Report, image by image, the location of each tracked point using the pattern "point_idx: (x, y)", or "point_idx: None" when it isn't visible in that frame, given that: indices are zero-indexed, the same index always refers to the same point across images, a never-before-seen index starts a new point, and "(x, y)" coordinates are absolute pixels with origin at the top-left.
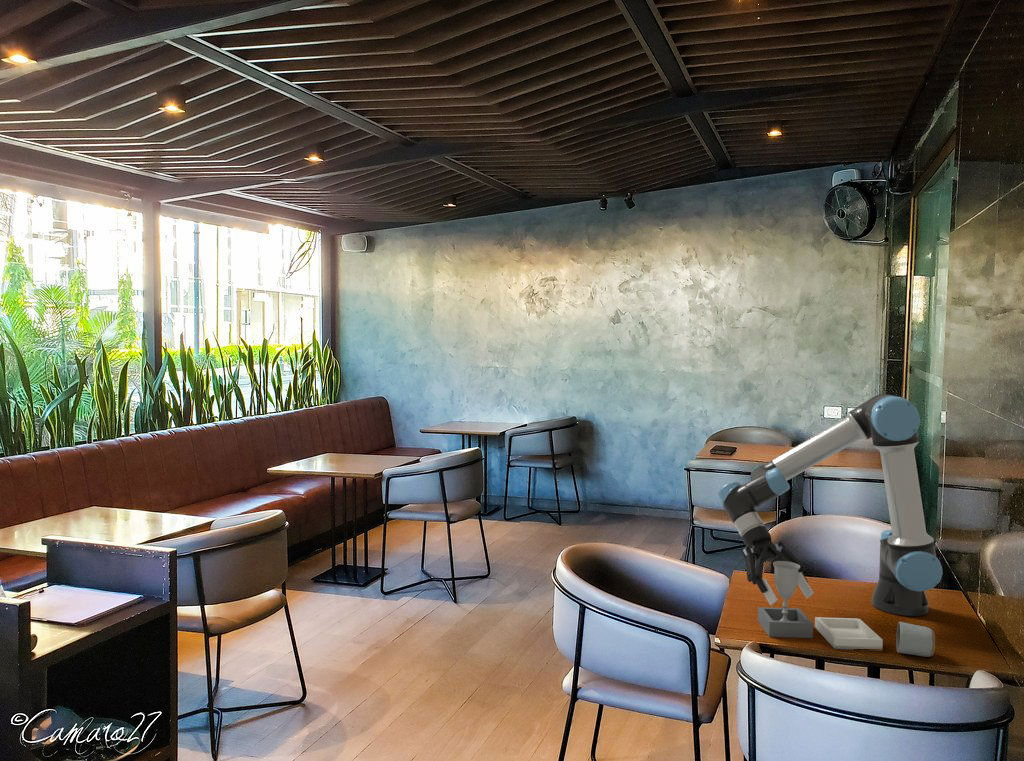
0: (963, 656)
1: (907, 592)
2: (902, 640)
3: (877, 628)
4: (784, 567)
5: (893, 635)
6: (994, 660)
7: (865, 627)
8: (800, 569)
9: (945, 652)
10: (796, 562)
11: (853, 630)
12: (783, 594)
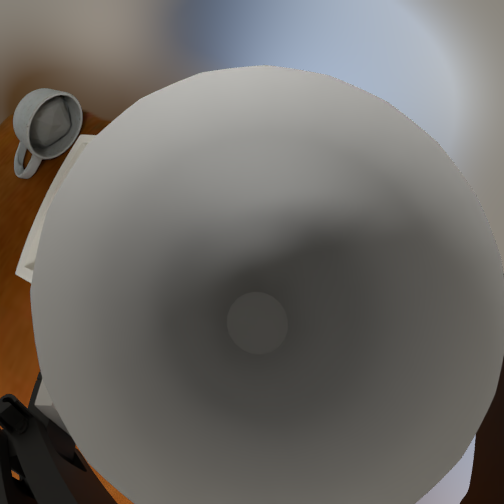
0: (14, 134)
1: None
2: (76, 98)
3: (5, 271)
4: (223, 456)
5: (9, 226)
6: (3, 126)
7: (46, 209)
8: (21, 426)
9: (16, 146)
10: (10, 497)
11: None
12: (295, 288)
